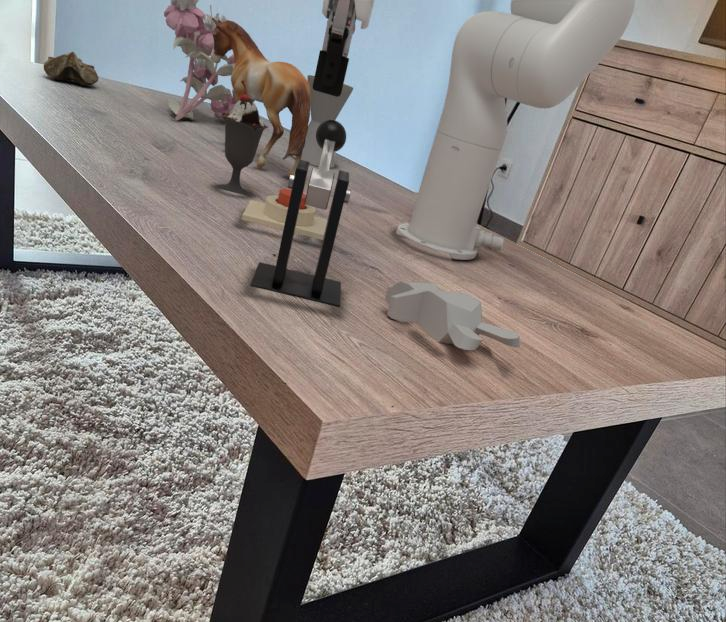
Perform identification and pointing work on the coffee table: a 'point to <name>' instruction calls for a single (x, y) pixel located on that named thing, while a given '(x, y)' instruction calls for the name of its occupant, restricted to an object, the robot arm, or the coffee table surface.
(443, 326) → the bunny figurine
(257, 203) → the button block
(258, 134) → the sundae
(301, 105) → the horse figurine
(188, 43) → the flower
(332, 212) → the lever bracket
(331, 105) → the lava lamp
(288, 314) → the coffee table surface
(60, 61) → the fossilized seashell
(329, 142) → the press lever
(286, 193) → the button
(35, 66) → the coffee table surface
